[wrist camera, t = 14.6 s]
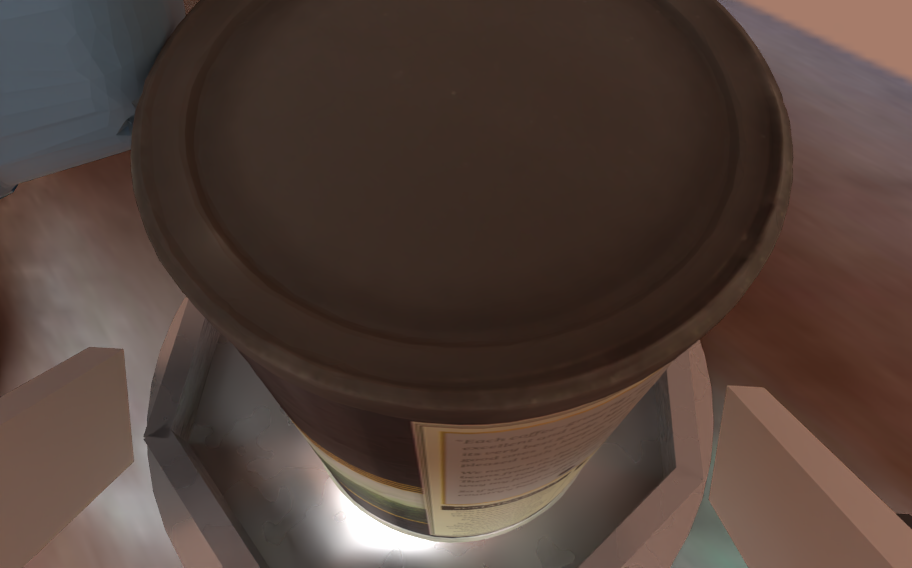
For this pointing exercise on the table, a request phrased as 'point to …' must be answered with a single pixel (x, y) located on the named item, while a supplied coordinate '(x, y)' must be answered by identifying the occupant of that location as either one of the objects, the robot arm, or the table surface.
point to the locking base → (361, 537)
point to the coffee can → (460, 224)
